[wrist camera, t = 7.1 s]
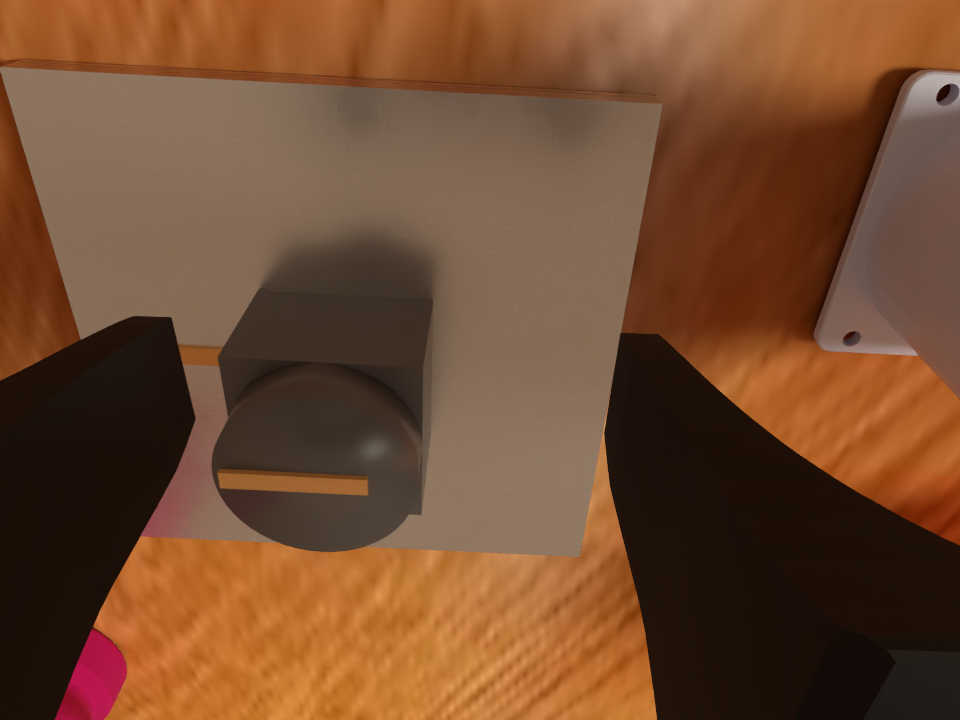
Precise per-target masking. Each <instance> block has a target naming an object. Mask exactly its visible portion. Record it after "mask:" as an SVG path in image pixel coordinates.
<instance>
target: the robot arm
mask: <svg viewBox="0 0 960 720" xmlns="http://www.w3.org/2000/svg"><path fill="white" fill-rule="evenodd" d="M947 84H950V92H949V94H948V95H947V97H946V98H945V99H943V100H942V101H940V102H937V101H936V96H937V93H938V92H939V90H940V89H941V88H942V87H943V86H945V85H947ZM853 331H855V333H854V335H853V336H852V337H850V338H849V339H845V340H843V338H844V336H845V335H846V334H848V333H849V332H853ZM814 339H815V341H816V343H817V344H818V346H819V347H820V348H822V349H823V350H826V351H833V352H853V353H872V354H892V355H911V356H920V357H921V358H922V359H923V361H924V362H925V363H926V364H927V365H928V366H929V367H930V368H931V369H932V370H933V371H934V372H935V373H936V374H937V375H938V377H939V378H940V379H941V380H942V381H943V382H944V383H945V384H946V385H947V386H948V387H949V388H950V389H951V390H952V391H953V393H954V394H955V395H956V396H957V397H958V398H959V399H960V71H949V70H931V69H927V70H920V71H918V72H916V73H914V74H912V75H911V76H910V77H909V78H908V79H907V80H906V81H905V82H904V84H903V86H902V87H901V89H900V92H899V95H898V98H897V100H896V103H895V106H894V109H893V112H892V114H891V117H890V120H889V123H888V126H887V128H886V131H885V134H884V137H883V140H882V142H881V145H880V148H879V151H878V154H877V157H876V159H875V162H874V165H873V168H872V171H871V173H870V176H869V179H868V182H867V185H866V187H865V190H864V193H863V196H862V199H861V201H860V204H859V207H858V210H857V213H856V216H855V218H854V221H853V224H852V227H851V230H850V232H849V235H848V238H847V241H846V244H845V246H844V249H843V252H842V255H841V258H840V260H839V263H838V266H837V269H836V272H835V274H834V277H833V280H832V283H831V286H830V289H829V291H828V294H827V297H826V300H825V303H824V305H823V308H822V311H821V314H820V317H819V319H818V322H817V325H816V328H815V331H814ZM195 420H196V418H195V414H194V409H193V405H192V401H191V397H190V393H189V388H188V384H187V380H186V376H185V372H184V367H183V363H182V359H181V355H180V351H179V347H178V342H177V338H176V334H175V330H174V326H173V321H172V317H154V316H132V317H129V318H127V319H124V320H121V321H119V322H117V323H114V324H112V325H110V326H108V327H106V328H104V329H102V330H100V331H98V332H96V333H94V334H92V335H90V336H88V337H86V338H84V339H82V340H80V341H78V342H76V343H74V344H72V345H70V346H68V347H66V348H64V349H62V350H60V351H58V352H56V353H54V354H53V355H51V356H49V357H47V358H45V359H43V360H41V361H39V362H37V363H35V364H33V365H31V366H29V367H27V368H25V369H23V370H21V371H20V372H18V373H16V374H14V375H11V376H9V377H7V378H5V379H3V380H1V381H0V720H55V718H56V716H57V713H58V711H59V708H60V705H61V703H62V700H63V698H64V695H65V693H66V690H67V688H68V685H69V682H70V680H71V677H72V675H73V672H74V670H75V667H76V665H77V663H78V660H79V658H80V656H81V653H82V651H83V649H84V646H85V644H86V642H87V639H88V637H89V635H90V632H91V630H92V628H93V625H94V623H95V620H96V618H97V616H98V614H99V611H100V609H101V607H102V605H103V603H104V601H105V599H106V597H107V595H108V593H109V591H110V590H111V588H112V586H113V584H114V582H115V580H116V578H117V577H118V575H119V573H120V571H121V570H122V568H123V566H124V564H125V562H126V561H127V559H128V557H129V555H130V554H131V552H132V550H133V548H134V547H135V545H136V543H137V541H138V539H139V538H140V536H141V534H142V532H143V531H144V529H145V527H146V525H147V524H148V522H149V520H150V518H151V516H152V515H153V513H154V511H155V509H156V508H157V506H158V504H159V502H160V500H161V498H162V497H163V495H164V493H165V491H166V489H167V488H168V486H169V484H170V482H171V480H172V478H173V476H174V475H175V473H176V471H177V468H178V466H179V463H180V461H181V458H182V456H183V453H184V451H185V448H186V445H187V443H188V440H189V437H190V434H191V431H192V428H193V426H194V423H195ZM604 435H605V445H606V455H607V464H608V473H609V481H610V488H611V492H612V496H613V500H614V504H615V508H616V512H617V516H618V520H619V525H620V529H621V532H622V536H623V540H624V544H625V548H626V552H627V556H628V560H629V564H630V568H631V572H632V576H633V580H634V584H635V588H636V592H637V596H638V600H639V603H640V608H641V613H642V618H643V623H644V628H645V633H646V640H647V647H648V654H649V661H650V669H651V676H652V683H653V690H654V697H655V705H656V713H657V720H960V546H959V545H957V544H955V543H953V542H951V541H948V540H946V539H944V538H942V537H940V536H938V535H936V534H934V533H932V532H930V531H928V530H926V529H924V528H922V527H920V526H918V525H916V524H914V523H912V522H910V521H908V520H906V519H904V518H903V517H901V516H899V515H897V514H895V513H894V512H892V511H890V510H888V509H886V508H885V507H883V506H881V505H879V504H877V503H876V502H874V501H872V500H870V499H868V498H867V497H865V496H863V495H861V494H860V493H858V492H856V491H855V490H853V489H851V488H850V487H848V486H846V485H845V484H843V483H841V482H840V481H838V480H837V479H835V478H833V477H832V476H830V475H829V474H827V473H826V472H824V471H823V470H821V469H820V468H818V467H817V466H815V465H814V464H812V463H811V462H809V461H808V460H806V459H805V458H803V457H802V456H800V455H799V454H797V453H796V452H795V451H793V450H792V449H791V448H789V447H788V446H786V445H785V444H784V443H782V442H781V441H780V440H778V439H777V438H776V437H774V436H773V435H772V434H771V433H769V432H768V431H767V430H766V429H764V428H763V427H762V426H760V425H759V424H758V423H757V422H755V421H754V420H753V419H752V418H750V417H749V416H748V415H747V414H746V413H744V412H743V411H742V410H741V409H740V408H738V407H737V406H736V405H735V404H734V403H733V402H731V401H730V400H729V399H728V398H727V397H726V396H725V395H724V394H722V393H721V392H720V391H719V390H718V389H717V388H716V387H715V386H714V385H712V384H711V383H710V382H709V381H708V380H707V379H706V378H705V377H704V376H703V375H702V374H701V373H700V372H698V371H697V370H696V369H695V368H694V367H693V366H692V365H691V364H690V363H689V362H688V361H687V360H686V359H685V358H684V357H683V356H682V355H681V354H680V353H678V352H677V351H676V350H675V349H674V348H673V347H672V346H671V345H670V344H669V343H668V342H667V341H666V340H665V339H663V338H662V337H661V336H660V335H659V334H635V333H620V338H619V344H618V350H617V357H616V363H615V369H614V376H613V382H612V388H611V395H610V401H609V407H608V414H607V420H606V426H605V433H604Z"/></svg>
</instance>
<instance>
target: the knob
mask: <svg viewBox="0 0 960 720" xmlns="http://www.w3.org/2000/svg"><path fill="white" fill-rule="evenodd" d="M432 344H433V300H422V299H404V298H385V297H367V296H349V295H330V294H312V293H293V292H275V291H257V293H256V294H255V296H254V297H253V299H252V301H251V302H250V304H249V306H248V307H247V309H246V311H245V312H244V314H243V316H242V317H241V319H240V321H239V322H238V324H237V325H236V327H235V329H234V330H233V332H232V334H231V335H230V337H229V339H228V340H227V342H226V344H225V345H224V347H223V349H222V350H221V352H220V353H219V355H218V363H219V369H220V374H221V380H222V386H223V391H224V397H225V403H226V408H227V414H228V420H227V422H226V424H225V426H224V428H223V430H222V431H221V433H220V435H219V437H218V440H217V442H216V444H215V446H214V450H213V454H212V464H211V467H212V476H213V479H214V483H215V486H216V488H217V490H218V493H219V495H220V496H221V498H222V500H223V501H224V503H225V504H226V506H227V507H228V508H229V509H230V510H231V511H232V513H233V514H234V515H235V516H236V517H238V518H239V519H240V520H241V521H242V522H243V523H244V524H246V525H247V526H248V527H250V528H251V529H253V530H254V531H256V532H258V533H259V534H261V535H263V536H265V537H267V538H269V539H271V540H273V541H276V542H279V543H281V544H284V545H287V546H291V547H294V548H299V549H304V550H310V551H320V552H337V551H347V550H352V549H358V548H361V547H365V546H368V545H371V544H373V543H375V542H378V541H380V540H382V539H383V538H385V537H387V536H388V535H390V534H391V533H392V532H394V531H395V530H396V529H397V528H398V527H399V526H400V525H401V524H402V523H403V522H404V521H405V519H406V518H407V517H408V515H409V514H410V515H422V507H423V498H424V490H425V481H426V473H427V464H428V456H429V447H430V438H431V396H432ZM393 390H395V392H394V391H393Z"/></svg>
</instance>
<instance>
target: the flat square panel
mask: <svg viewBox="0 0 960 720" xmlns="http://www.w3.org/2000/svg"><path fill="white" fill-rule="evenodd" d="M0 72H1V75H2V79H3V82H4V85H5V89H6V92H7V95H8V99H9V102H10V105H11V109H12V112H13V115H14V119H15V122H16V125H17V129H18V132H19V135H20V139H21V142H22V145H23V149H24V152H25V155H26V159H27V162H28V165H29V169H30V172H31V175H32V179H33V182H34V185H35V189H36V192H37V195H38V199H39V202H40V205H41V209H42V212H43V215H44V219H45V222H46V225H47V229H48V232H49V235H50V239H51V242H52V245H53V249H54V252H55V255H56V259H57V262H58V265H59V269H60V272H61V275H62V279H63V282H64V285H65V289H66V292H67V295H68V299H69V302H70V305H71V309H72V312H73V315H74V319H75V322H76V325H77V329H78V332H79V335H80V339H81V340H82V339H84V338H86V337H88V336H90V335H92V334H94V333H96V332H98V331H100V330H102V329H104V328H106V327H108V326H110V325H112V324H114V323H117V322H119V321H121V320H124V319H127V318H129V317H132V316H154V317H172V321H173V326H174V330H175V334H176V338H177V342H178V347H179V351H180V355H181V359H182V363H183V367H184V372H185V376H186V380H187V384H188V388H189V393H190V397H191V401H192V405H193V409H194V414H195V418H196V420H195V423H194V426H193V428H192V431H191V434H190V437H189V440H188V443H187V445H186V448H185V451H184V453H183V456H182V458H181V461H180V463H179V466H178V468H177V471H176V473H175V475H174V476H173V478H172V480H171V482H170V484H169V486H168V488H167V489H166V491H165V493H164V495H163V497H162V498H161V500H160V502H159V504H158V506H157V508H156V509H155V511H154V513H153V515H152V516H151V518H150V520H149V522H148V524H147V525H146V527H145V529H144V531H143V532H142V534H141V536H147V537H168V538H189V539H210V540H232V541H253V542H274V543H279V542H276V541H273V540H271V539H269V538H267V537H265V536H263V535H261V534H259V533H258V532H256V531H254V530H253V529H251V528H250V527H248V526H247V525H246V524H244V523H243V522H242V521H241V520H240V519H239V518H238V517H236V516H235V515H234V514H233V513H232V511H231V510H230V509H229V508H228V507H227V506H226V504H225V503H224V501H223V500H222V498H221V496H220V495H219V493H218V490H217V488H216V486H215V483H214V479H213V476H212V467H211V464H212V454H213V450H214V446H215V444H216V442H217V440H218V437H219V435H220V433H221V431H222V430H223V428H224V426H225V424H226V422H227V420H228V414H227V408H226V403H225V397H224V391H223V386H222V380H221V374H220V369H219V363H218V355H219V353H220V352H221V350H222V349H223V347H224V345H225V344H226V342H227V340H228V339H229V337H230V335H231V334H232V332H233V330H234V329H235V327H236V325H237V324H238V322H239V321H240V319H241V317H242V316H243V314H244V312H245V311H246V309H247V307H248V306H249V304H250V302H251V301H252V299H253V297H254V296H255V294H256V293H257V291H275V292H293V293H312V294H330V295H349V296H367V297H385V298H404V299H422V300H433V344H432V396H431V438H430V447H429V456H428V464H427V473H426V481H425V490H424V498H423V507H422V515H410V514H409V515H408V517H407V518H406V519H405V521H404V522H403V523H402V524H401V525H400V526H399V527H398V528H397V529H396V530H395V531H394V532H392V533H391V534H390V535H388V536H387V537H385V538H383V539H382V540H380V541H378V542H375V543H373V544H371V545H368V546H365V547H381V548H402V549H424V550H445V551H466V552H487V553H509V554H530V555H551V556H573V557H580V552H581V547H582V541H583V536H584V531H585V525H586V520H587V514H588V509H589V503H590V498H591V492H592V487H593V482H594V476H595V471H596V465H597V460H598V454H599V449H600V444H601V438H602V433H603V427H604V422H605V416H606V411H607V406H608V400H609V395H610V389H611V384H612V378H613V373H614V367H615V362H616V357H617V350H618V344H619V338H620V333H621V329H622V324H623V319H624V313H625V308H626V302H627V297H628V291H629V286H630V281H631V275H632V270H633V264H634V259H635V253H636V248H637V242H638V237H639V232H640V226H641V221H642V215H643V210H644V204H645V199H646V194H647V188H648V183H649V177H650V172H651V166H652V161H653V155H654V150H655V145H656V139H657V134H658V128H659V123H660V117H661V112H662V107H663V104H662V102H661V101H660V100H659V99H658V98H657V96H656V95H652V94H634V93H616V92H598V91H580V90H563V89H545V88H527V87H509V86H491V85H473V84H456V83H438V82H420V81H402V80H384V79H366V78H349V77H331V76H313V75H295V74H277V73H259V72H242V71H224V70H206V69H188V68H170V67H152V66H135V65H117V64H99V63H81V62H63V61H45V60H28V59H21V60H18V61H15V62H12V63H9V64H6V65H3V66H0ZM393 391H394V392H395V390H393Z"/></svg>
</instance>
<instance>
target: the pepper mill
mask: <svg viewBox="0 0 960 720" xmlns="http://www.w3.org/2000/svg"><path fill="white" fill-rule="evenodd" d="M126 674H127V668H126V662H125V660H124V657H123V655H122V653H121V652H120V650H119V649H118V648H117V647H116V646H115V644H114V643H113V642H112V641H111V640H109V639H108V638H107V637H105V636H104V635H103V634H101V633H100V632H98V631H96V630H94V629H93V628H92V630H91V632H90V635H89V637H88V639H87V642H86V644H85V646H84V649H83V651H82V653H81V656H80V658H79V660H78V663H77V665H76V667H75V670H74V672H73V675H72V677H71V680H70V682H69V685H68V688H67V690H66V693H65V695H64V698H63V700H62V703H61V705H60V708H59V711H58V713H57V716H56V718H55V720H104V719H105V718H106V717H107V715H108V714H109V712H110V711H111V709H112V707H113V704H114V702H115V700H116V698H117V696H118V694H119V692H120V690H121V688H122V685H123V683H124V681H125V679H126Z"/></svg>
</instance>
